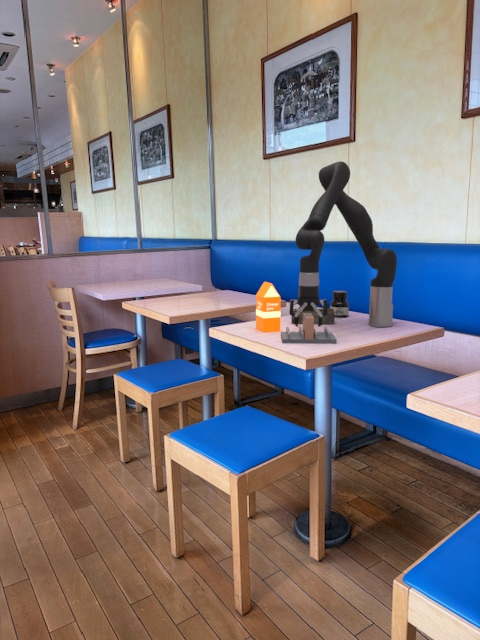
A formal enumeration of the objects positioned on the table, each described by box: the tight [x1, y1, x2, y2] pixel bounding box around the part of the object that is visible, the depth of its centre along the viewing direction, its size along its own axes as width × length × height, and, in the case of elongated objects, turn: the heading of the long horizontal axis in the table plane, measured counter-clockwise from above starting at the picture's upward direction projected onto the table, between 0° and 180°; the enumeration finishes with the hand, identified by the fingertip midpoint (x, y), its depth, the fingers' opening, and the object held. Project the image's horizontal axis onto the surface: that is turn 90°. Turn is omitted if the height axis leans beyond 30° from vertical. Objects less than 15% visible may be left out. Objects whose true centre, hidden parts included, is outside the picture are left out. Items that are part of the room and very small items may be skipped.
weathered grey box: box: [290, 307, 336, 325], centre depth 216 cm, size 8×19×7 cm, turn 86°
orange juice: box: [255, 281, 282, 334], centre depth 200 cm, size 8×9×20 cm
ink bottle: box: [329, 290, 350, 318], centre depth 231 cm, size 10×9×12 cm
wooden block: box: [302, 313, 315, 339], centre depth 183 cm, size 3×10×8 cm, turn 178°
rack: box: [280, 326, 338, 344], centre depth 185 cm, size 20×13×4 cm, turn 88°
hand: (307, 326), depth 184 cm, fingers open, 8 cm apart
